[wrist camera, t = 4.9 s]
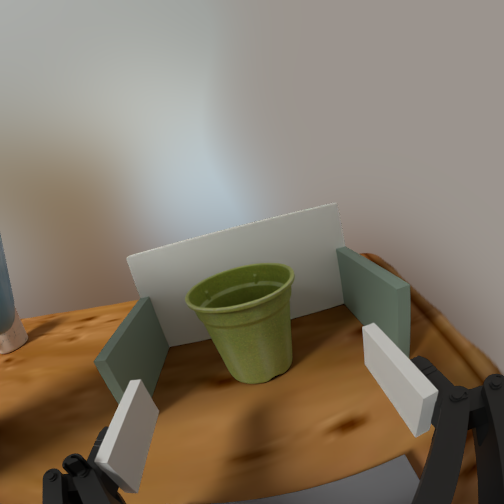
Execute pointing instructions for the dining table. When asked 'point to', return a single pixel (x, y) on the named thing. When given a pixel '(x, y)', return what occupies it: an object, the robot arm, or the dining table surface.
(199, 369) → the dining table surface
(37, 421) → the dining table surface
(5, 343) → the teacup with lid
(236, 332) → the plant pot
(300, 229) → the grey-green angled panels
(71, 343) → the dining table surface
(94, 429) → the dining table surface
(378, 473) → the slate mat
